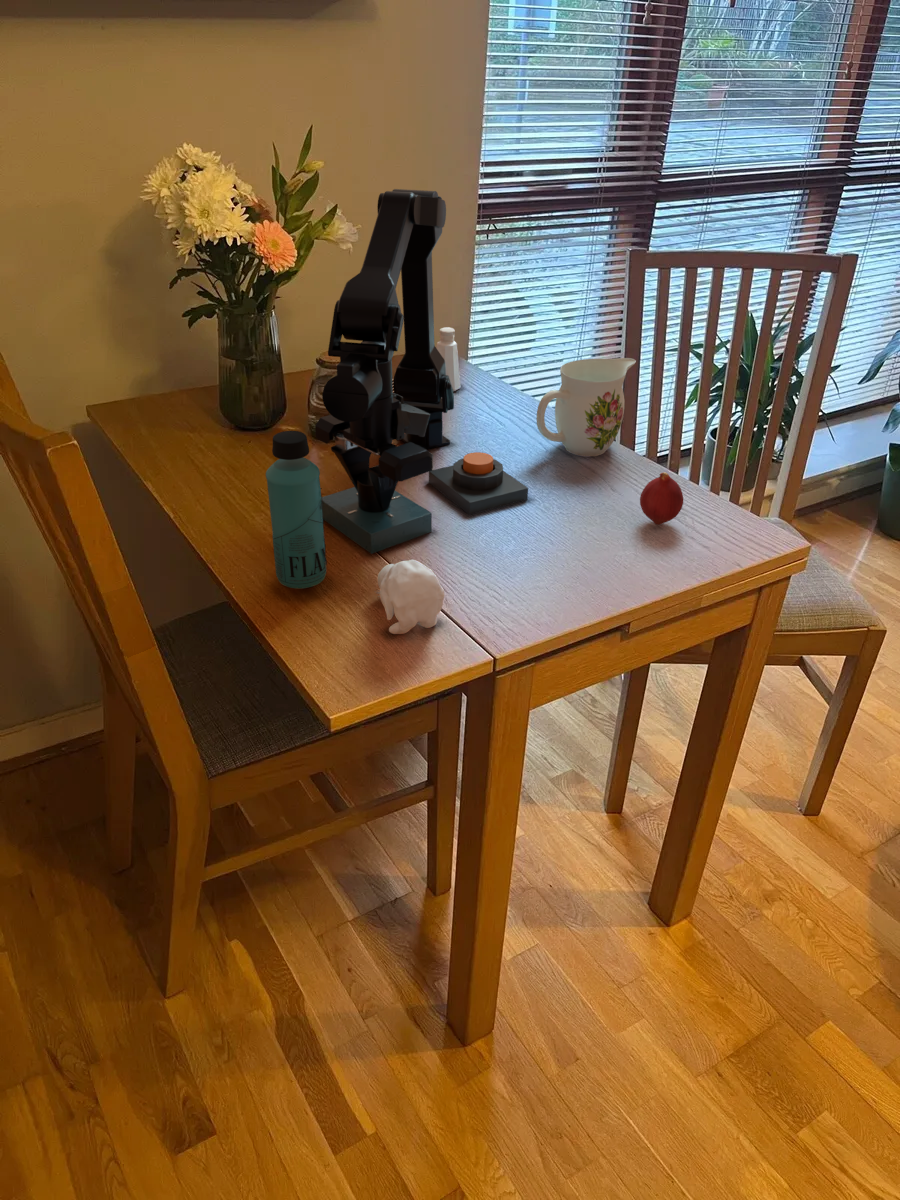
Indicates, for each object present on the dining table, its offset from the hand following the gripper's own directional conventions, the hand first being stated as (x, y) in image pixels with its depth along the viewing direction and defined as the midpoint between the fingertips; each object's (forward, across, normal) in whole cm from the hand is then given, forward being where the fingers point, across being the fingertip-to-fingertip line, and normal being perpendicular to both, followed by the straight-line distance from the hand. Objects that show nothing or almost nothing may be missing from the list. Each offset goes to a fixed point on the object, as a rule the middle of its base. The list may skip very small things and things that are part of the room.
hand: (374, 502), depth 126 cm
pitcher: (+4, -1, -42) cm, 42 cm away
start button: (0, -1, -18) cm, 18 cm away
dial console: (+4, 0, 0) cm, 4 cm away
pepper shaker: (-2, +35, -43) cm, 55 cm away
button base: (+4, -1, -18) cm, 18 cm away
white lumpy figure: (+4, -20, +11) cm, 23 cm away
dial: (0, 0, 0) cm, 0 cm away
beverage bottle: (+4, -7, +17) cm, 18 cm away
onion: (+4, -25, -31) cm, 40 cm away
